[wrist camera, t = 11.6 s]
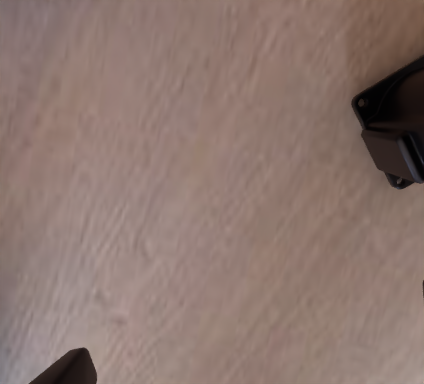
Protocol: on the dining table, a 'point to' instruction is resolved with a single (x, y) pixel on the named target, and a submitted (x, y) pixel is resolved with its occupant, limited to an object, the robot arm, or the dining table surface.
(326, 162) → the dining table surface
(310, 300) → the dining table surface
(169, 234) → the dining table surface
